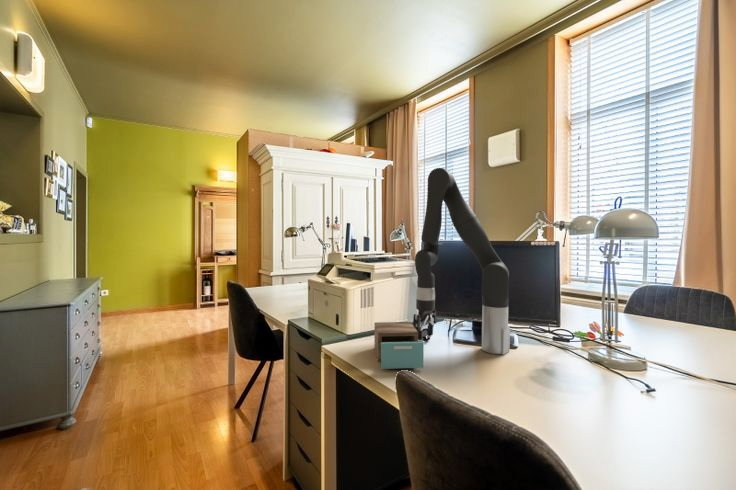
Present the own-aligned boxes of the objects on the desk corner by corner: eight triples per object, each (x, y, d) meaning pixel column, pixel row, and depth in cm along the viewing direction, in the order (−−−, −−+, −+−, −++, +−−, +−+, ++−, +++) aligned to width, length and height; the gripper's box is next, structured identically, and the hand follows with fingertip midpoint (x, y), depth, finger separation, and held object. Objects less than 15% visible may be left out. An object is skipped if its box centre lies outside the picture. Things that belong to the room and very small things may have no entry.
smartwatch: (429, 338, 150) (429, 327, 150) (431, 342, 145) (432, 330, 145) (419, 338, 150) (419, 327, 150) (421, 342, 145) (421, 330, 145)
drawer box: (417, 360, 125) (418, 332, 125) (378, 361, 124) (378, 333, 124) (410, 347, 139) (410, 321, 139) (374, 348, 138) (374, 322, 138)
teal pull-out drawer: (423, 368, 115) (423, 343, 115) (381, 369, 114) (381, 344, 114) (415, 353, 129) (415, 331, 129) (377, 354, 128) (377, 331, 128)
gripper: (424, 301, 139) (423, 343, 140) (442, 296, 150) (441, 335, 151) (408, 299, 144) (407, 339, 145) (426, 294, 155) (426, 331, 155)
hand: (424, 336), depth 148 cm, fingers open, 8 cm apart
